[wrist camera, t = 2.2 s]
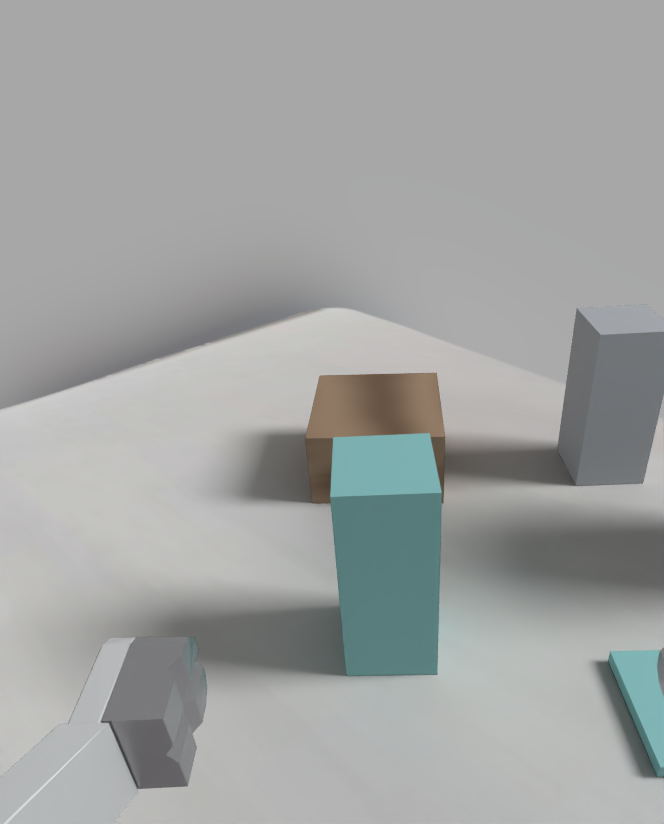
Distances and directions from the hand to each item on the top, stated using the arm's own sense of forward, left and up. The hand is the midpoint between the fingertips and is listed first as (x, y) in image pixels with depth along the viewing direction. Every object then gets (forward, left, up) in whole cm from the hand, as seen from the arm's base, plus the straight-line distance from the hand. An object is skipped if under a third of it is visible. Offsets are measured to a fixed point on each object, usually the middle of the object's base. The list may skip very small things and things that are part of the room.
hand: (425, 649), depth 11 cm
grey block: (+14, +25, -15) cm, 32 cm away
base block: (0, +26, -15) cm, 30 cm away
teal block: (0, +12, -15) cm, 19 cm away
